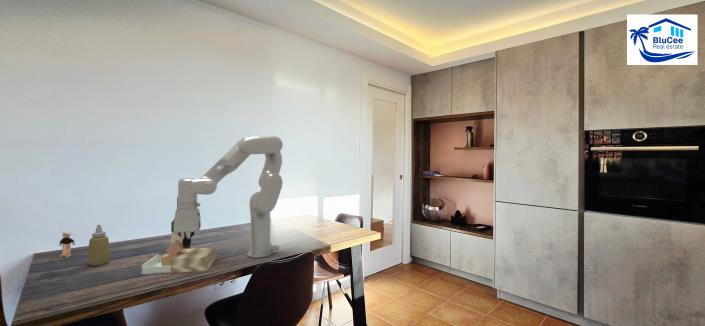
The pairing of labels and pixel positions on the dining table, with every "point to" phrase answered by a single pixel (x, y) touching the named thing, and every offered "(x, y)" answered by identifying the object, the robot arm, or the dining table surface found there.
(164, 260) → the block
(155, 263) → the tray
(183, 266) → the plate
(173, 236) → the wine bottle
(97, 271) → the dining table surface
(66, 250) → the grandmother figurine
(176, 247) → the block
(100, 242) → the squeeze bottle
